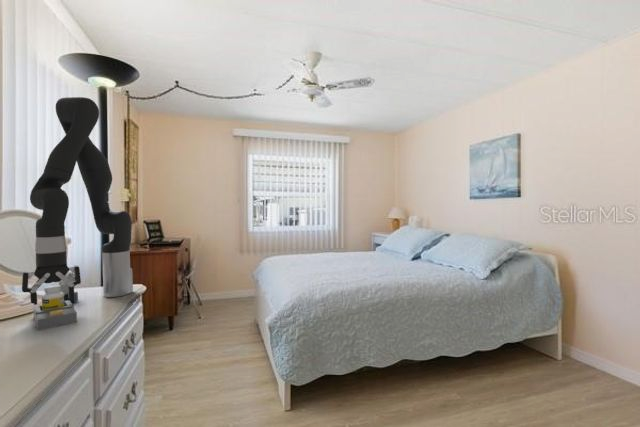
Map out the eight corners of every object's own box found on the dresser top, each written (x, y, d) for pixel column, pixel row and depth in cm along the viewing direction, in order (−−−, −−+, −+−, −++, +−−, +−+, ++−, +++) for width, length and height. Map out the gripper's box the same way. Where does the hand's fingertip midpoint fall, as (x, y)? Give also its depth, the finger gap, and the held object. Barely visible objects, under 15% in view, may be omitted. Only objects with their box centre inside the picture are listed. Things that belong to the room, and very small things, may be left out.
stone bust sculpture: (79, 298, 122) (78, 269, 121) (72, 304, 114) (71, 274, 114) (61, 300, 119) (60, 271, 119) (53, 306, 112) (52, 275, 112)
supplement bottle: (38, 320, 99) (37, 289, 98) (48, 315, 104) (47, 285, 103) (59, 319, 100) (58, 288, 100) (67, 313, 105) (66, 283, 105)
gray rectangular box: (32, 312, 106) (32, 301, 106) (66, 306, 112) (66, 295, 112) (37, 330, 91) (37, 317, 91) (77, 321, 98) (76, 309, 97)
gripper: (77, 247, 109) (78, 294, 109) (20, 252, 99) (22, 303, 99) (81, 249, 104) (82, 298, 104) (21, 254, 93) (23, 309, 94)
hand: (53, 301), depth 102 cm, fingers open, 8 cm apart
